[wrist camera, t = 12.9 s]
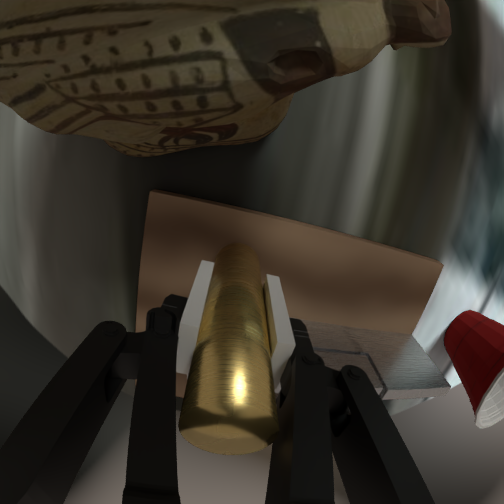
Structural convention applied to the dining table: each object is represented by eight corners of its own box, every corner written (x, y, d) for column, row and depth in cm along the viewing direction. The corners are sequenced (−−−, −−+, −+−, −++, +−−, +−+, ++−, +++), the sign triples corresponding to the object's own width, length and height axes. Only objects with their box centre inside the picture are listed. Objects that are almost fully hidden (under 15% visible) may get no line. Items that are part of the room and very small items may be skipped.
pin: (219, 238, 20) (182, 393, 7) (264, 248, 21) (292, 409, 8) (211, 279, 21) (175, 446, 8) (253, 288, 22) (263, 458, 9)
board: (154, 188, 21) (150, 191, 20) (437, 260, 24) (443, 264, 23) (138, 378, 27) (135, 385, 26) (358, 407, 30) (360, 414, 29)
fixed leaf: (280, 315, 24) (295, 385, 16) (411, 334, 25) (451, 386, 18) (260, 372, 26) (265, 442, 18) (383, 382, 27) (410, 436, 20)
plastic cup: (495, 275, 25) (561, 324, 14) (483, 343, 29) (531, 395, 17) (428, 308, 26) (494, 380, 14) (423, 376, 29) (465, 444, 18)
